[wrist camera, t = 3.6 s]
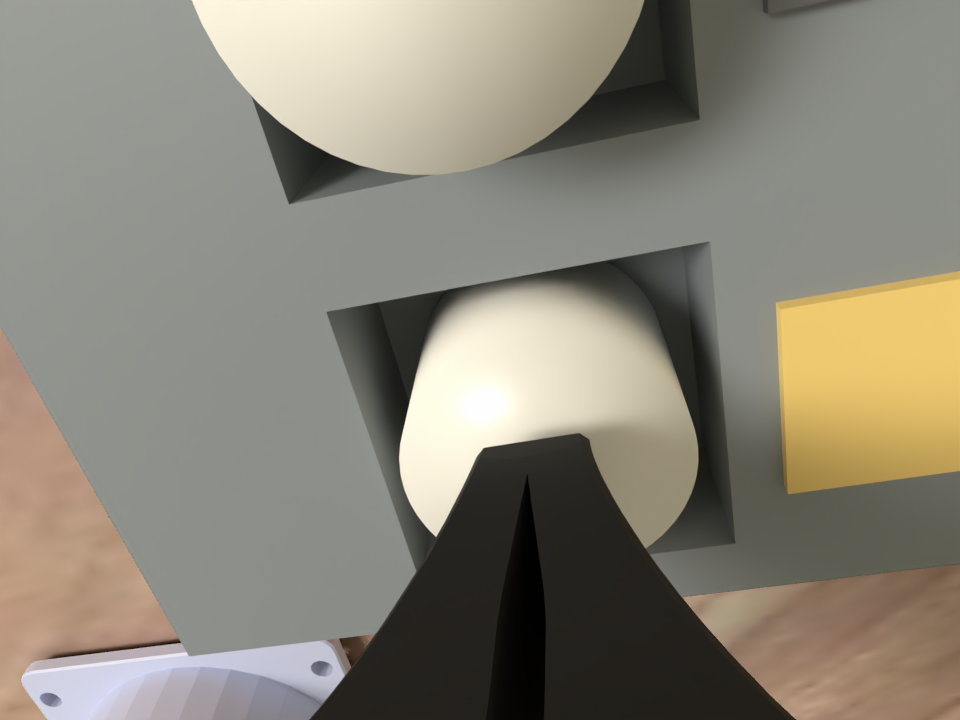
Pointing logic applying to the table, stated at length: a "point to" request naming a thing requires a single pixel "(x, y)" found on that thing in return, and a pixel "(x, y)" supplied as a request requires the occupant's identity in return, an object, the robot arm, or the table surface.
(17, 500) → the table surface
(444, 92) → the button middle
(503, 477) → the robot arm
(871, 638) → the table surface
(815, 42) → the button board
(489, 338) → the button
